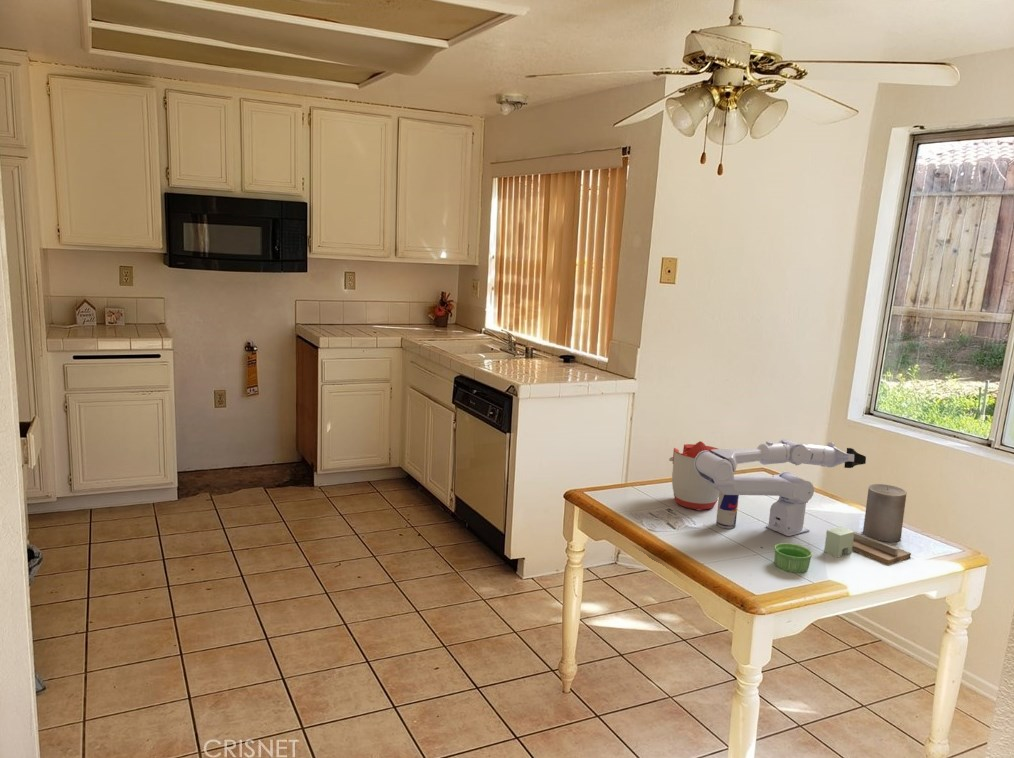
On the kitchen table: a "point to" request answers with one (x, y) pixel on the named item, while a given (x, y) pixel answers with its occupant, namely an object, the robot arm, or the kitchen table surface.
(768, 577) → the kitchen table surface
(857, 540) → the cleat plank
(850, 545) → the notched block
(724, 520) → the energy drink
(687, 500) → the citrus juicer
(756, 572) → the kitchen table surface
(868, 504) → the pillar candle
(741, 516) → the kitchen table surface
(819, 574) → the kitchen table surface
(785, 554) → the ramekin
